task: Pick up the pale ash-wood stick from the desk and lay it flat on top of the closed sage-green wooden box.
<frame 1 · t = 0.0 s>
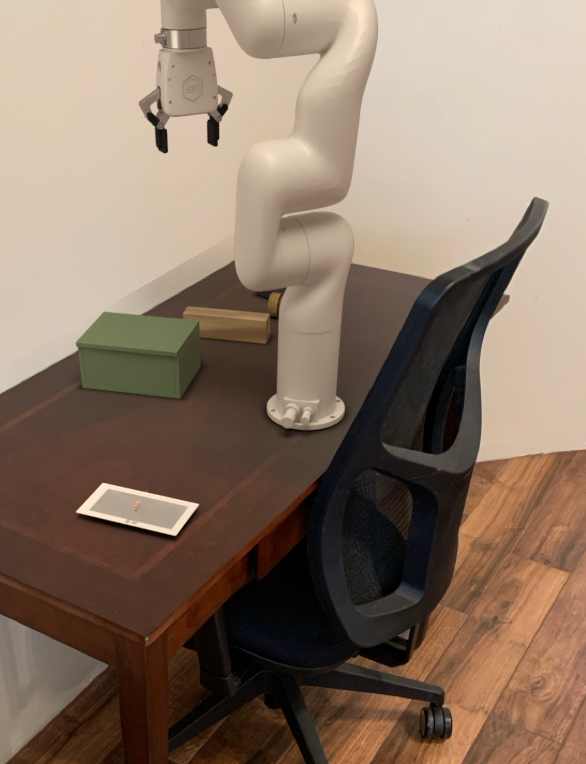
hand: (188, 148, 160), 31 cm above the table, tool pointing down, fingers open, 9 cm apart
touchpad: (138, 515, 124), on the table
box lid: (138, 333, 152), point 8 cm above the table, hinge at 0.0°
gavel: (307, 304, 183), on the table
box: (142, 376, 157), on the table
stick: (226, 336, 170), on the table
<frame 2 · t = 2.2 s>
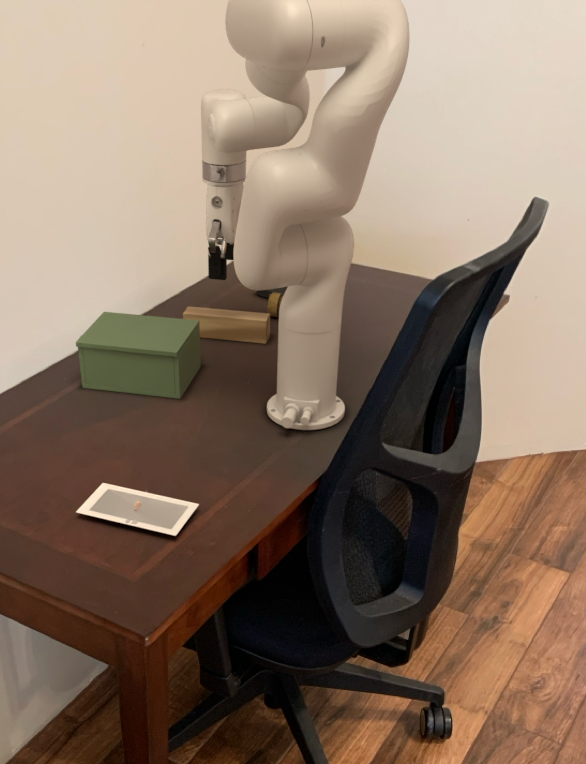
hand: (224, 269, 163), 13 cm above the table, tool pointing down, fingers open, 9 cm apart
nothing on the table moved.
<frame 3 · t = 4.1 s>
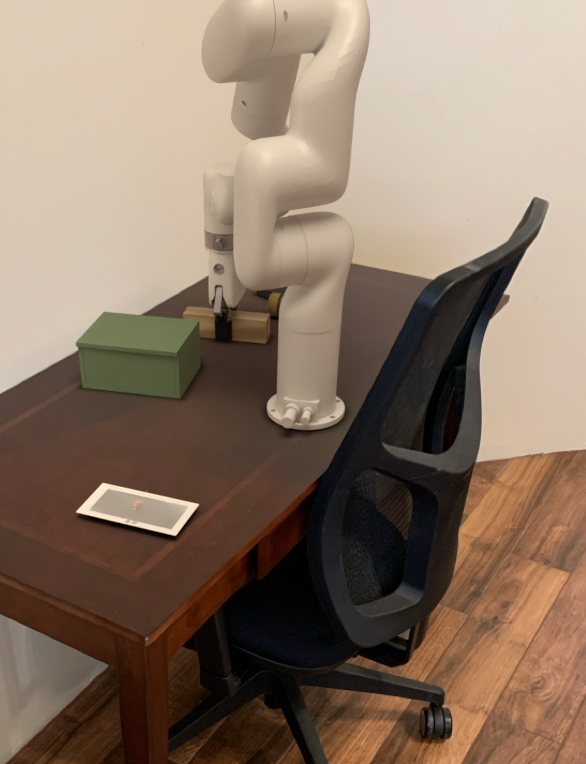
hand: (226, 334, 170), 0 cm above the table, tool pointing down, fingers closed on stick, 3 cm apart
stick: (226, 336, 170), on the table, touching gripper
everything else where it was.
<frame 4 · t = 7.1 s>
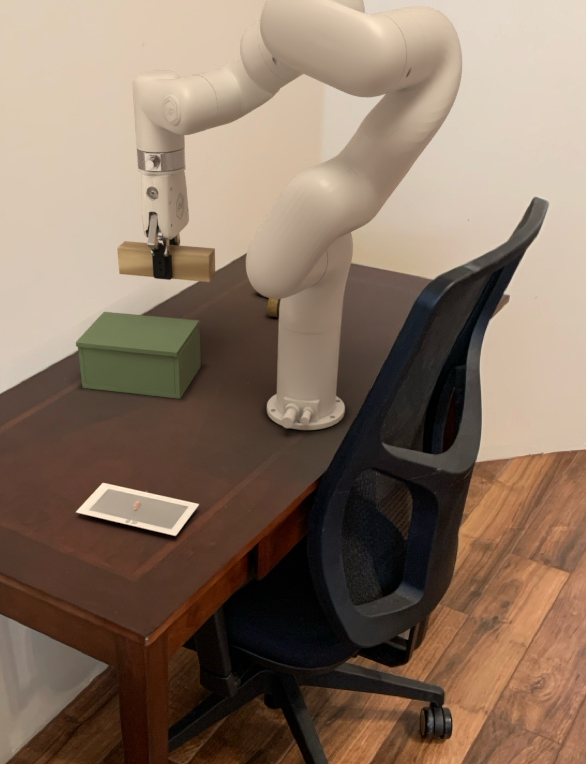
hand: (167, 273, 152), 17 cm above the table, tool pointing down, fingers closed on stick, 3 cm apart
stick: (167, 274, 152), point 16 cm above the table, touching gripper
everything else where it was.
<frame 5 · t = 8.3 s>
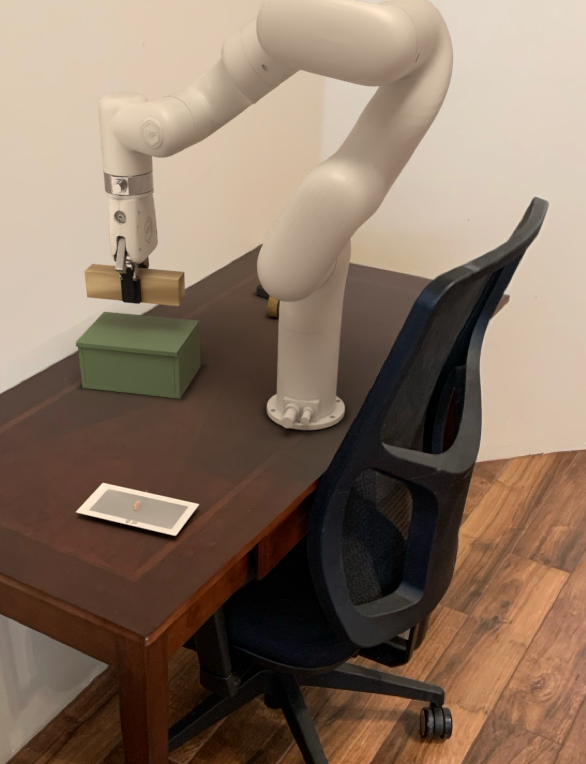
hand: (136, 296, 149), 15 cm above the table, tool pointing down, fingers closed on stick, 3 cm apart
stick: (136, 297, 149), point 14 cm above the table, touching gripper
everything else where it was.
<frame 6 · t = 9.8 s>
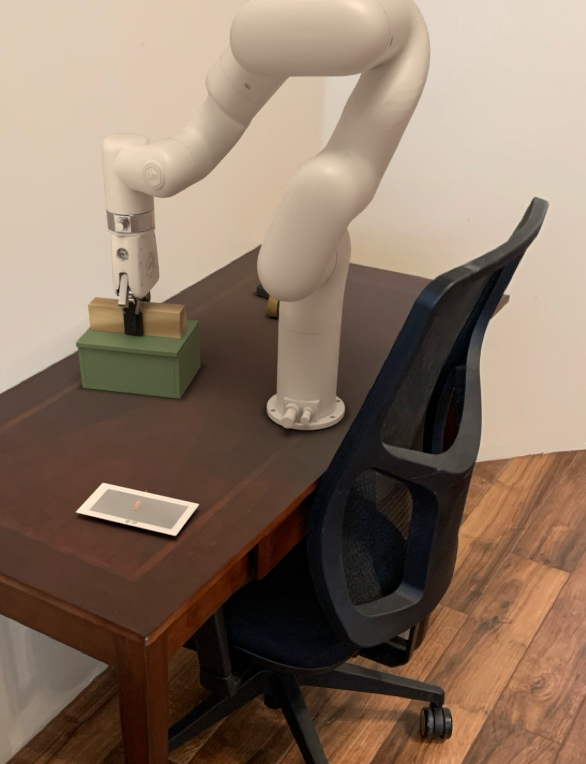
hand: (138, 328, 152), 9 cm above the table, tool pointing down, fingers closed on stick, 3 cm apart
box lid: (138, 333, 152), point 8 cm above the table, hinge at -0.2°, touching box, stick
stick: (138, 330, 152), point 9 cm above the table, touching box lid, gripper
everything else where it was.
when the fingers open (9 cm above the table, at t = 9.9 s): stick stays where it is, resting on box lid.
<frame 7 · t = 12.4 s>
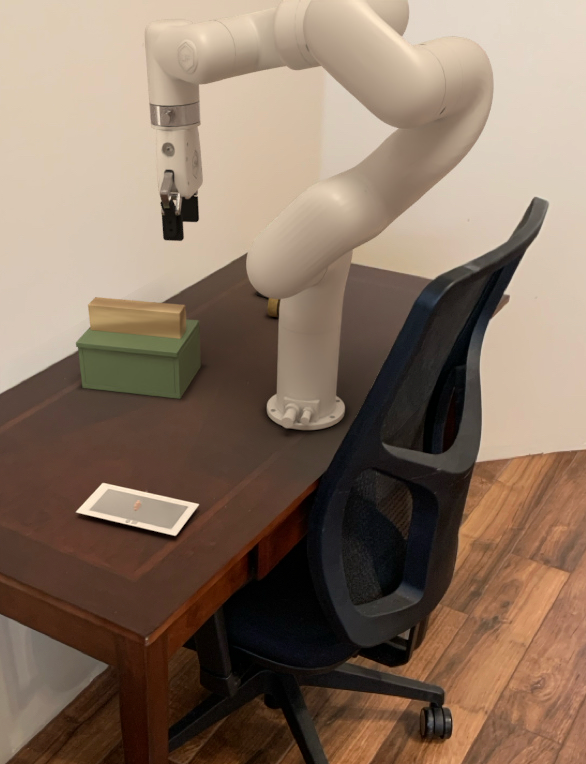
hand: (181, 230, 144), 25 cm above the table, tool pointing down, fingers open, 9 cm apart
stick: (138, 330, 152), point 9 cm above the table, touching box lid
everything else where it was.
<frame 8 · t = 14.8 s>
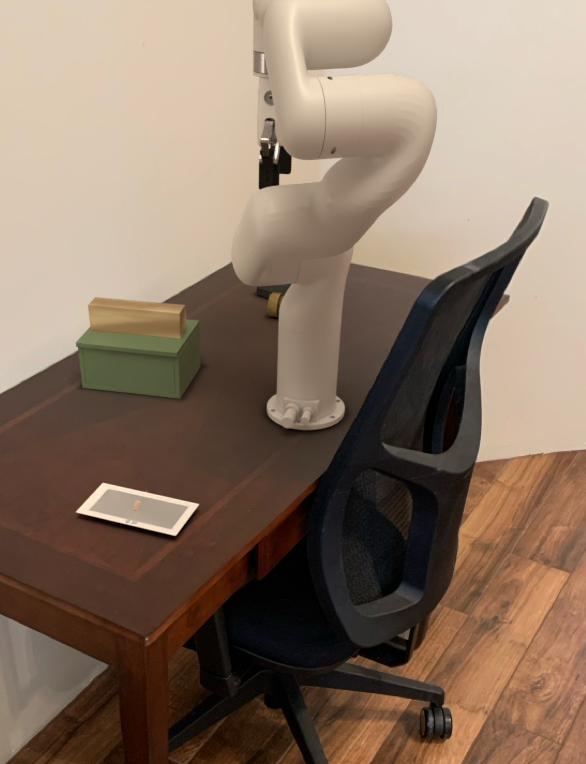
hand: (275, 181, 146), 30 cm above the table, tool pointing down, fingers open, 9 cm apart
nothing on the table moved.
at the end: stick inside the target area on the box (0.2 cm from its centre), point 8.7 cm above the box's base; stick touching box lid; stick tilted 0° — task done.
